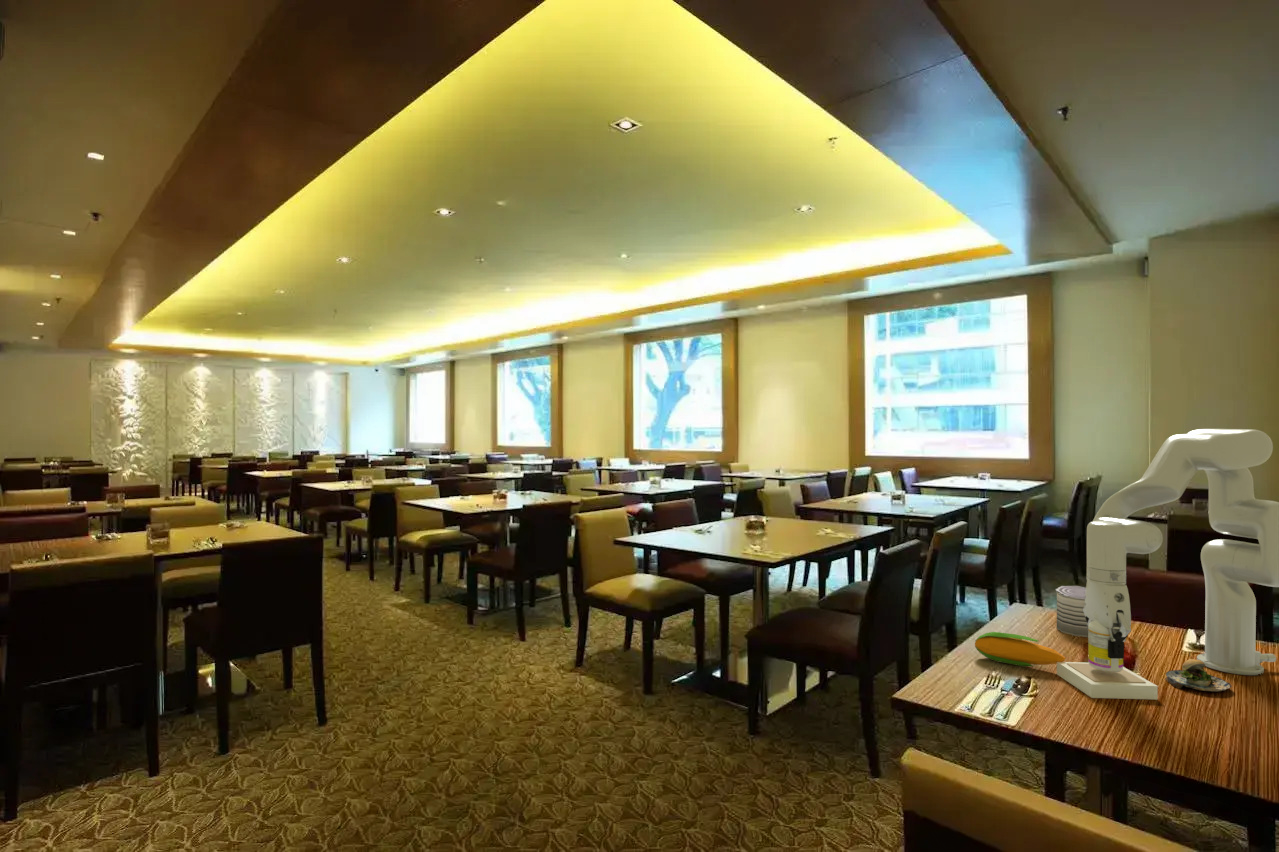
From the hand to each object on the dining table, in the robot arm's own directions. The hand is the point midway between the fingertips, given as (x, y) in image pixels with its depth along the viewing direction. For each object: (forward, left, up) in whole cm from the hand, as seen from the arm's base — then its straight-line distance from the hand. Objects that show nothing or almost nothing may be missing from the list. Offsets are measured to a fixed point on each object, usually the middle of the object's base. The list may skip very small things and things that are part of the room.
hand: (1105, 651), depth 157 cm
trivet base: (0, 0, -8) cm, 8 cm away
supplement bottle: (0, 0, -4) cm, 4 cm away
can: (-18, -42, -8) cm, 46 cm away
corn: (+13, -13, -8) cm, 20 cm away
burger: (-22, -2, -9) cm, 24 cm away
